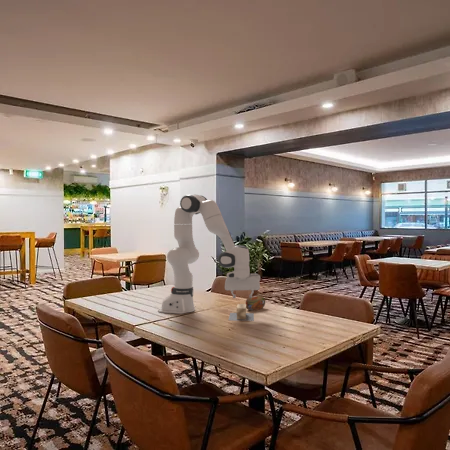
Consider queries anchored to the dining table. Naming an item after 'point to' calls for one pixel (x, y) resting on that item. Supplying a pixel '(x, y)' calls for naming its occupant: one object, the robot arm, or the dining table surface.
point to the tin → (255, 303)
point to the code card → (248, 318)
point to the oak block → (241, 311)
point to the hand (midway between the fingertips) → (242, 297)
